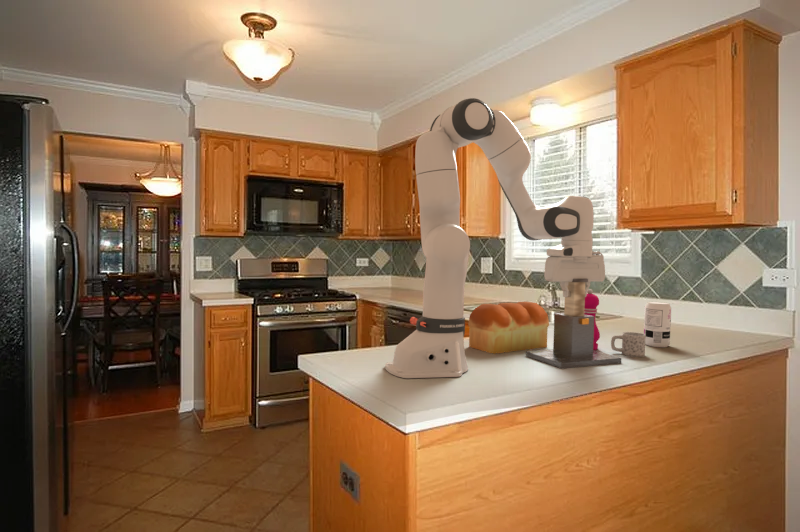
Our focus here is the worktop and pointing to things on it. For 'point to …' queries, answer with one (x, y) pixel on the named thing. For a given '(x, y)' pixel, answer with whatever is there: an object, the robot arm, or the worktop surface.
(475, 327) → the bread
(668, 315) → the supplement can
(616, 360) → the stand
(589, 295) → the pink tall rounded piece
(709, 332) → the worktop surface
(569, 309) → the column
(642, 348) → the mug
